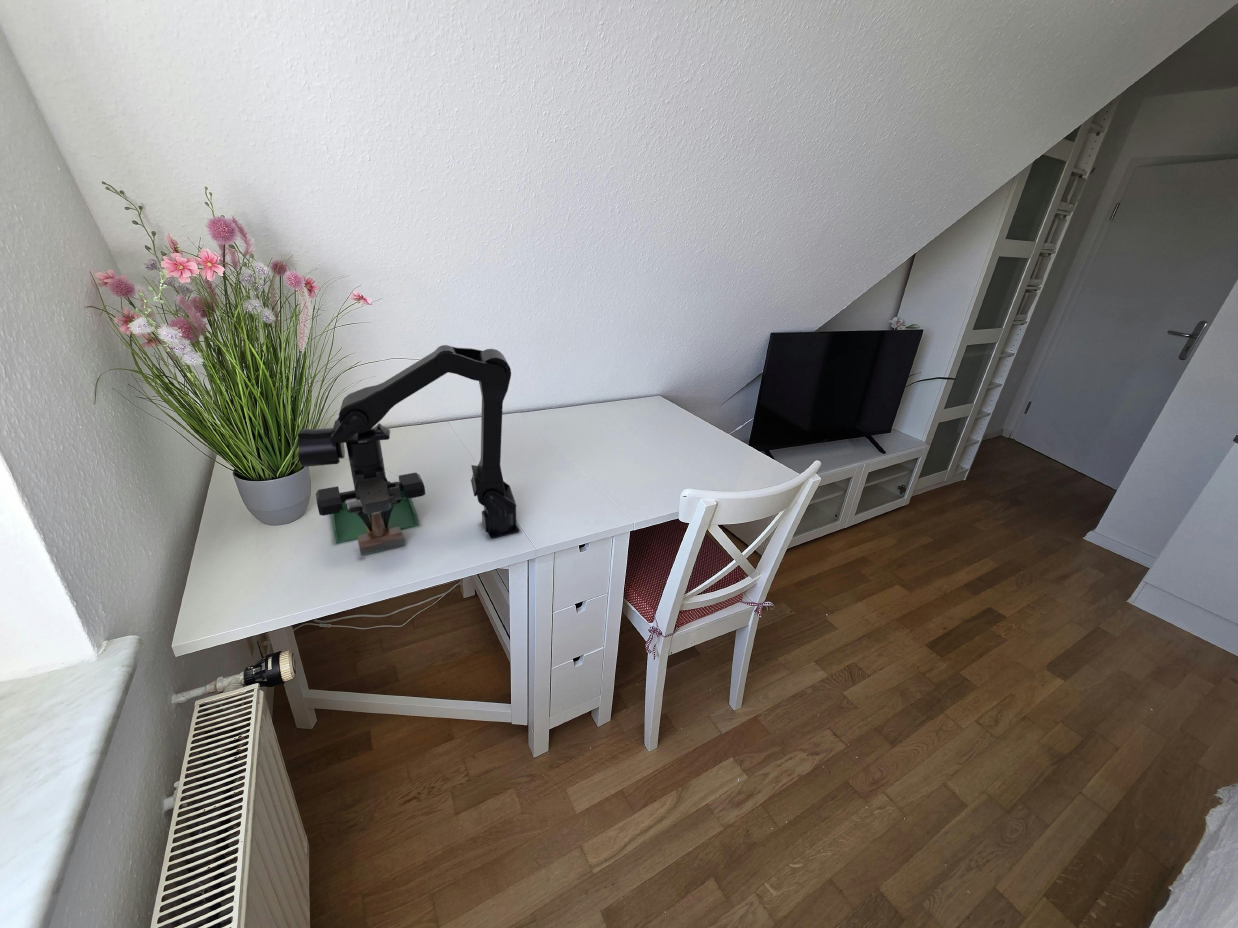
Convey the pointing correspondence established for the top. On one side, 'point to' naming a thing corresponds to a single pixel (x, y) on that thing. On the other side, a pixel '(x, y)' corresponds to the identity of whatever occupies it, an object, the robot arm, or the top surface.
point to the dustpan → (353, 525)
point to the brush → (379, 536)
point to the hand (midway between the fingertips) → (378, 528)
